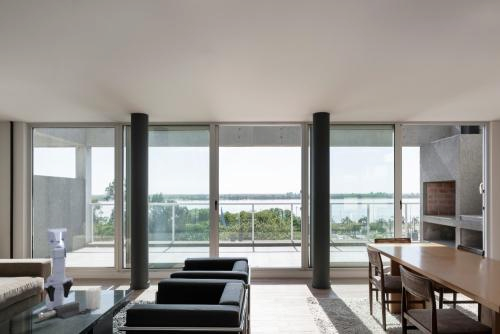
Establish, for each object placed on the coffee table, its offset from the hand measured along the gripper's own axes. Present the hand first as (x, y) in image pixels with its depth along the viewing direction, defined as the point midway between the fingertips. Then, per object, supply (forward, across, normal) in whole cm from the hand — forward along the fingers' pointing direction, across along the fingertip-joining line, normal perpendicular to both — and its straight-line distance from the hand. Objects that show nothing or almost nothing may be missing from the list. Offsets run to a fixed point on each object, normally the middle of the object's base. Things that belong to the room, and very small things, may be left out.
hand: (59, 299), depth 188 cm
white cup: (+10, +21, +1) cm, 23 cm away
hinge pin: (+9, +1, +6) cm, 11 cm away
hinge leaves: (+10, +8, +6) cm, 14 cm away
